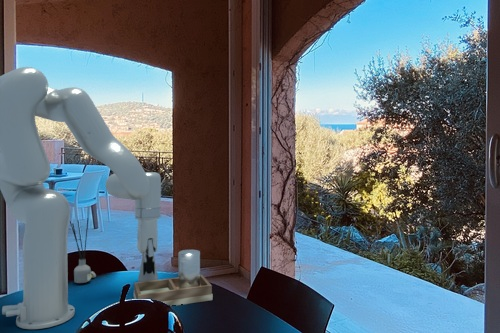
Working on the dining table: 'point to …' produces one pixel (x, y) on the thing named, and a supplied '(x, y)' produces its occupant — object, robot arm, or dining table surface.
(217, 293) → the dining table surface
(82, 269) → the reed diffuser
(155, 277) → the salt shaker
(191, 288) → the divided tray
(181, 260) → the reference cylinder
